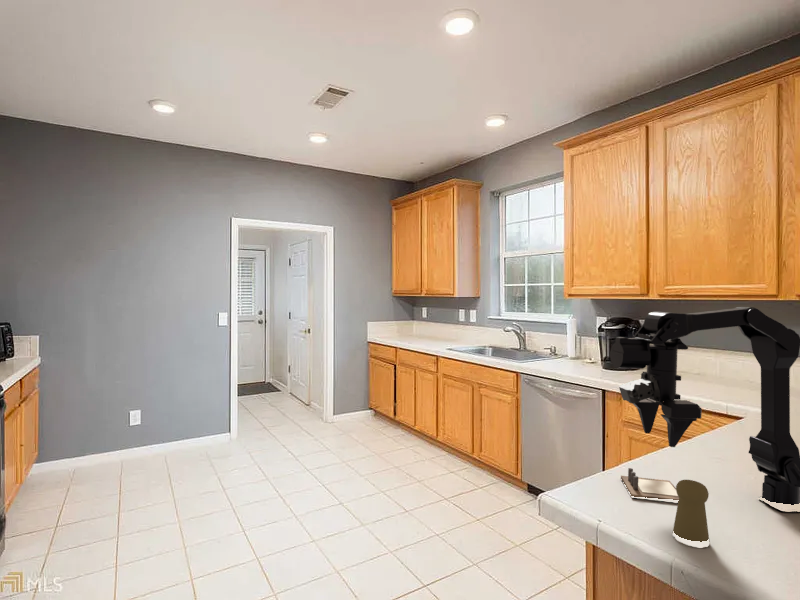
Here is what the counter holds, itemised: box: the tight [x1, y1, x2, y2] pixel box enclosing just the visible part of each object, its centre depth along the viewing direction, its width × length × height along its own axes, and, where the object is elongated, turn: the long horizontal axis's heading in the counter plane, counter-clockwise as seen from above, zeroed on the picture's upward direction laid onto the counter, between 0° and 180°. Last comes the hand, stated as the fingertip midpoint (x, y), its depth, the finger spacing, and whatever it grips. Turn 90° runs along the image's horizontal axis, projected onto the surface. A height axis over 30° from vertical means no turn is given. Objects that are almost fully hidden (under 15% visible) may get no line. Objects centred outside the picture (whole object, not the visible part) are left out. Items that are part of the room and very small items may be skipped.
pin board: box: [620, 467, 679, 500], centre depth 108 cm, size 11×11×4 cm
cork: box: [672, 479, 710, 542], centre depth 87 cm, size 6×6×11 cm
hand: (659, 439), depth 100 cm, fingers open, 9 cm apart
